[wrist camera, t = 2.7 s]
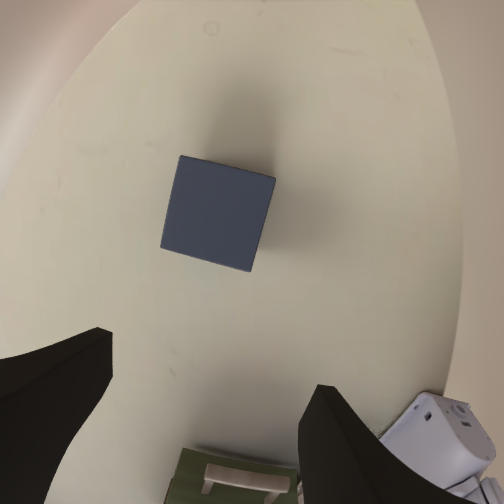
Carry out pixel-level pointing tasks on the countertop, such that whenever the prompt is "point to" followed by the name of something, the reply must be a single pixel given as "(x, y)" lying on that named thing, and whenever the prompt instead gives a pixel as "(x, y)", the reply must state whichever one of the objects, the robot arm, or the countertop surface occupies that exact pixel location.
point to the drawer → (230, 482)
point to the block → (216, 212)
